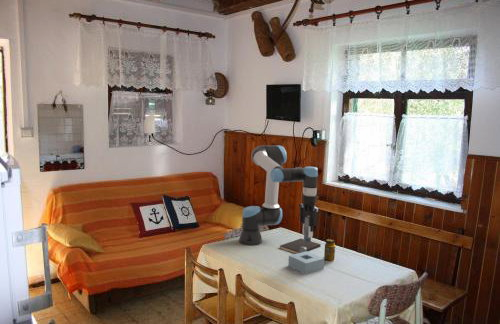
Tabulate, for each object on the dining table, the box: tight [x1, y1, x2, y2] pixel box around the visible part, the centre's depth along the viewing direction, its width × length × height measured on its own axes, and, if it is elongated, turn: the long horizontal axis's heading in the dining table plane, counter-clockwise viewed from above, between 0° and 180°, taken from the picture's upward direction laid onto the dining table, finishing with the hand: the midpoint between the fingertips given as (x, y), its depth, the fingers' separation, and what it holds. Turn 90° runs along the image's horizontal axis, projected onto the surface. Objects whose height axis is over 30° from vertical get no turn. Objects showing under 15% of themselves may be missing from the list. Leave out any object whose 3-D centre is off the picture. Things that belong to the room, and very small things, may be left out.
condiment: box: [323, 238, 338, 264], centre depth 244 cm, size 7×8×12 cm
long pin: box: [303, 215, 312, 242], centre depth 228 cm, size 4×4×14 cm
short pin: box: [300, 246, 307, 253], centre depth 247 cm, size 4×4×6 cm
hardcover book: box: [279, 238, 322, 254], centre depth 265 cm, size 16×23×2 cm
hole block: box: [287, 251, 325, 275], centre depth 231 cm, size 14×14×6 cm
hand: (307, 235), depth 229 cm, fingers closed on long pin, 4 cm apart
